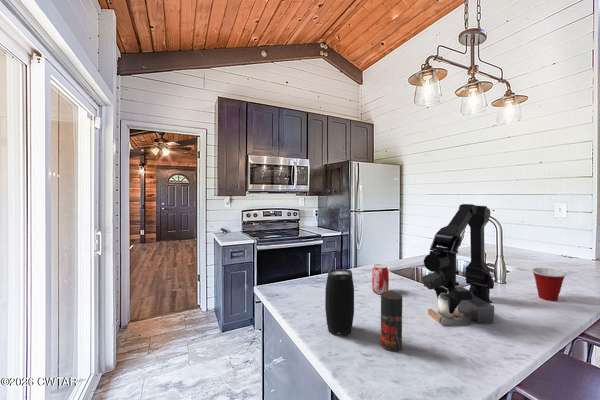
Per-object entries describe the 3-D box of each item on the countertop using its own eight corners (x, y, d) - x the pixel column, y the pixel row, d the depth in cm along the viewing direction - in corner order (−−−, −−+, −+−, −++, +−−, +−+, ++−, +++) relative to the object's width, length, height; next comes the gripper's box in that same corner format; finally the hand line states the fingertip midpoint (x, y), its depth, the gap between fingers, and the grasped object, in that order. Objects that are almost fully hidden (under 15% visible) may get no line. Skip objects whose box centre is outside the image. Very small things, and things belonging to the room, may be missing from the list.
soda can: (389, 295, 116) (389, 268, 116) (372, 294, 118) (372, 267, 117) (387, 290, 123) (387, 264, 123) (371, 289, 125) (371, 263, 124)
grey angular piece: (468, 308, 104) (469, 292, 104) (494, 323, 92) (494, 306, 92) (422, 310, 102) (423, 294, 102) (442, 326, 90) (443, 308, 90)
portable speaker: (320, 328, 89) (320, 269, 88) (342, 321, 94) (342, 265, 93) (337, 340, 81) (337, 276, 81) (359, 332, 86) (359, 271, 86)
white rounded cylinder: (448, 310, 99) (448, 292, 98) (457, 317, 94) (457, 297, 93) (435, 311, 98) (435, 292, 98) (443, 317, 93) (443, 297, 93)
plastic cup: (525, 296, 116) (526, 268, 116) (538, 292, 121) (539, 265, 120) (558, 305, 106) (558, 275, 106) (570, 301, 111) (571, 272, 110)
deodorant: (377, 340, 81) (377, 291, 81) (396, 339, 82) (396, 291, 81) (385, 352, 75) (385, 299, 75) (405, 351, 76) (406, 298, 75)
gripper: (412, 260, 104) (411, 300, 104) (441, 275, 85) (440, 323, 86) (439, 259, 105) (438, 299, 105) (474, 274, 86) (473, 322, 87)
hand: (446, 309), depth 96 cm, fingers closed on white rounded cylinder, 5 cm apart
